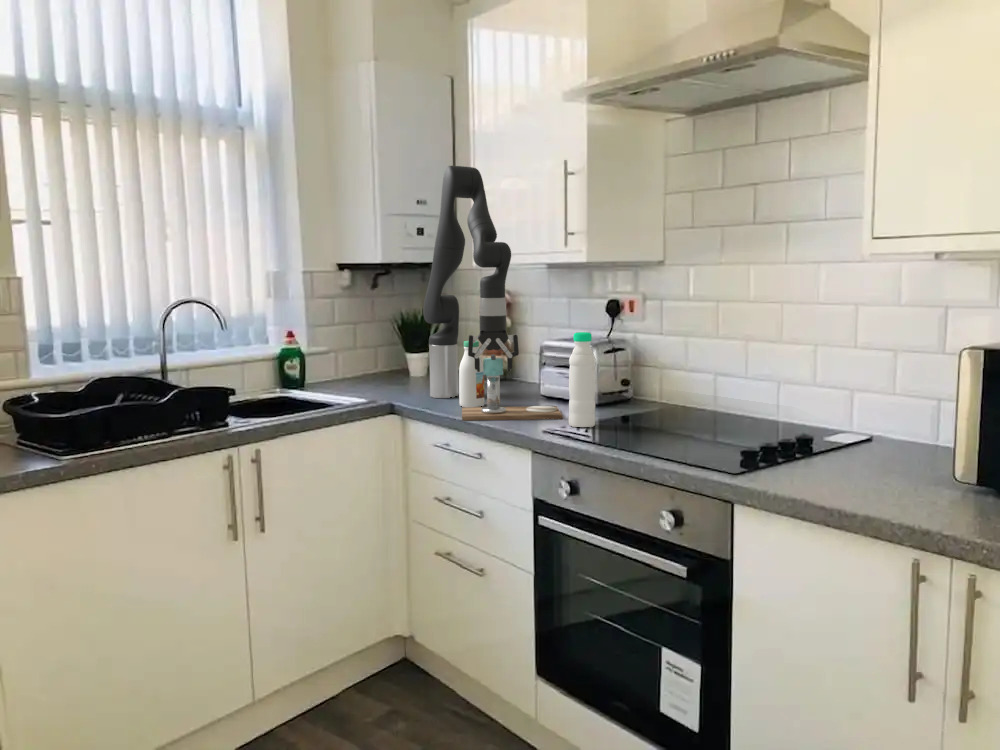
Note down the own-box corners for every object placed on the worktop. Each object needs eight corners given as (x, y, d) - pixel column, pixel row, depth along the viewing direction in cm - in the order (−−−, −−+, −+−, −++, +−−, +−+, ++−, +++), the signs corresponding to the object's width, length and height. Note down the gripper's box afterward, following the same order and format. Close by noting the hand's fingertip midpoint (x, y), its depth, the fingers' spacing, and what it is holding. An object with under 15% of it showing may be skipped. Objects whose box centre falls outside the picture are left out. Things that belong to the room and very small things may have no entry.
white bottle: (594, 429, 208) (594, 333, 204) (567, 428, 209) (567, 333, 206) (596, 423, 215) (597, 331, 211) (570, 423, 216) (570, 331, 213)
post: (481, 409, 230) (480, 372, 228) (505, 409, 230) (504, 372, 229) (481, 414, 223) (481, 376, 222) (506, 414, 223) (506, 376, 222)
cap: (483, 372, 229) (482, 354, 228) (502, 372, 229) (502, 354, 228) (483, 376, 221) (483, 357, 221) (503, 376, 222) (503, 356, 221)
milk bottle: (468, 409, 238) (467, 342, 235) (454, 405, 244) (453, 340, 241) (489, 406, 242) (489, 341, 240) (475, 403, 249) (474, 339, 246)
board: (462, 411, 234) (462, 406, 234) (556, 410, 236) (556, 404, 235) (462, 420, 220) (461, 414, 220) (562, 419, 222) (562, 413, 221)
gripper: (517, 313, 227) (517, 369, 229) (467, 313, 226) (468, 370, 228) (519, 314, 219) (519, 372, 222) (467, 315, 219) (468, 373, 221)
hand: (493, 371), depth 225 cm, fingers open, 8 cm apart
